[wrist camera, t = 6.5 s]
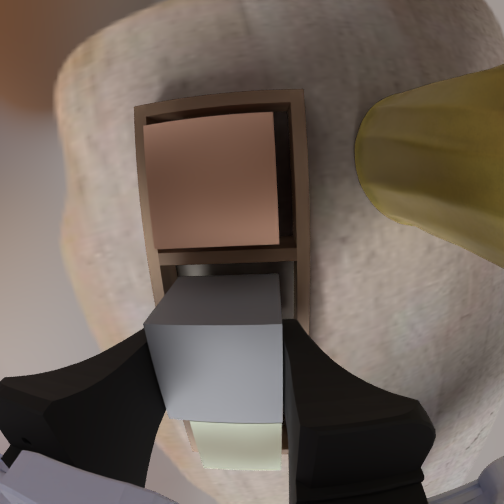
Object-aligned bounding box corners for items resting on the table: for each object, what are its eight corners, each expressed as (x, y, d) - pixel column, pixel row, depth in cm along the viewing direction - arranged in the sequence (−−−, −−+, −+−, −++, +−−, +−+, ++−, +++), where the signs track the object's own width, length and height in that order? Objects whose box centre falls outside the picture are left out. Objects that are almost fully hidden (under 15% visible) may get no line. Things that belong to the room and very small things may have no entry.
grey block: (280, 357, 13) (282, 422, 9) (192, 357, 13) (169, 418, 10) (278, 273, 12) (282, 323, 8) (178, 276, 12) (143, 324, 8)
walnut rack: (299, 429, 17) (303, 479, 13) (198, 428, 17) (186, 476, 13) (298, 99, 12) (310, 74, 8) (152, 113, 12) (109, 98, 8)
